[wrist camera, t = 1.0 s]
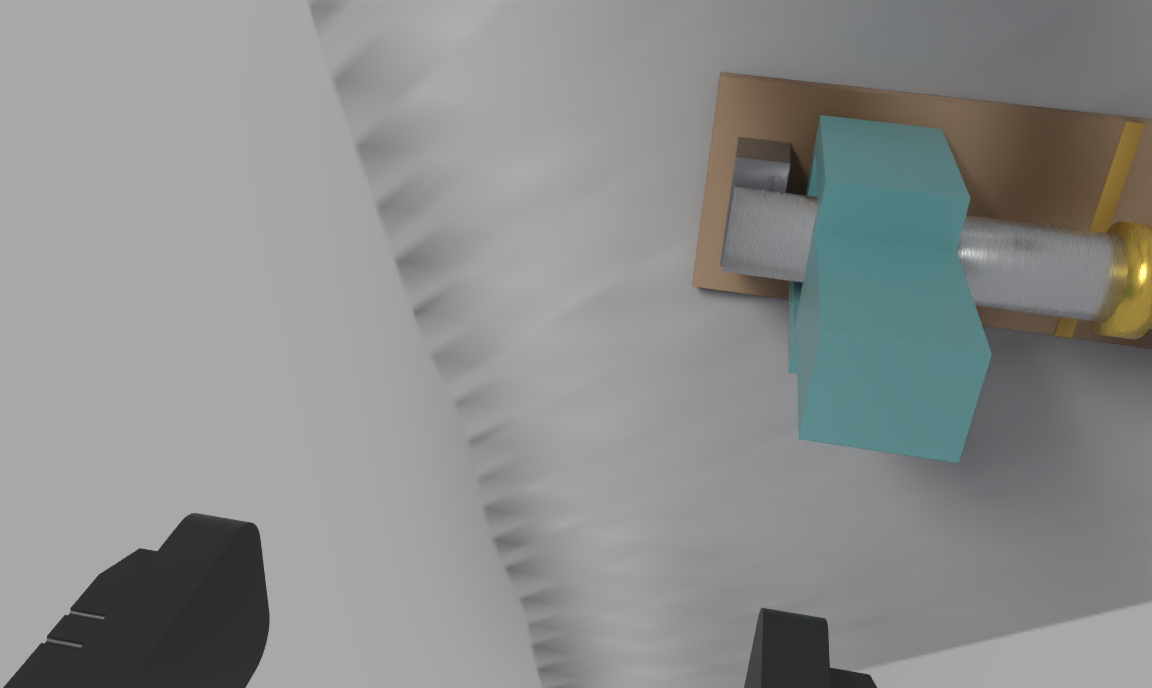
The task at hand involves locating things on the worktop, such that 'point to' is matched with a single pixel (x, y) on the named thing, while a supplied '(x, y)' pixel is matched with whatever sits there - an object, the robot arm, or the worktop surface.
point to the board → (983, 156)
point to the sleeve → (886, 295)
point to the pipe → (986, 251)
